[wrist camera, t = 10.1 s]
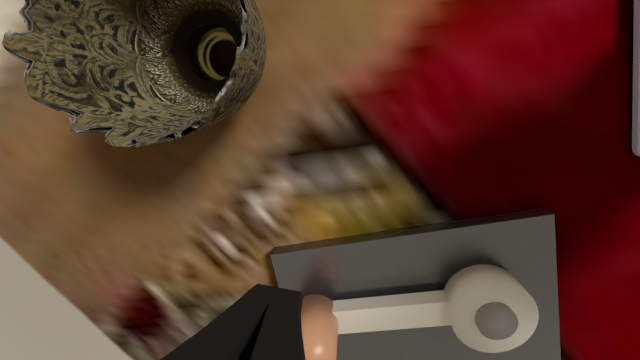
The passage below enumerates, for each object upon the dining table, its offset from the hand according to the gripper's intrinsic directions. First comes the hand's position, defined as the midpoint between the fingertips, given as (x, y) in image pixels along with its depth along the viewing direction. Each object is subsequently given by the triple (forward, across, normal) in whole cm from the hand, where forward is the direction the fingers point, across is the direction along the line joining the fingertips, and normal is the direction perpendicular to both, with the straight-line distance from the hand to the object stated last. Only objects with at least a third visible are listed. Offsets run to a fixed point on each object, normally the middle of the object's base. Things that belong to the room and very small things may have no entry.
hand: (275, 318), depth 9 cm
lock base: (+9, -7, +8) cm, 14 cm away
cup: (+10, +6, -8) cm, 14 cm away
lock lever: (+8, -6, +4) cm, 11 cm away
